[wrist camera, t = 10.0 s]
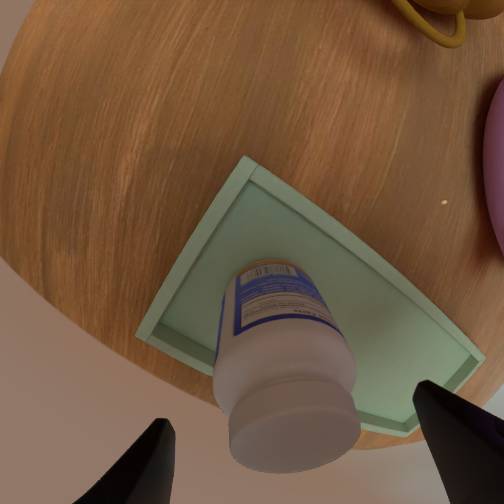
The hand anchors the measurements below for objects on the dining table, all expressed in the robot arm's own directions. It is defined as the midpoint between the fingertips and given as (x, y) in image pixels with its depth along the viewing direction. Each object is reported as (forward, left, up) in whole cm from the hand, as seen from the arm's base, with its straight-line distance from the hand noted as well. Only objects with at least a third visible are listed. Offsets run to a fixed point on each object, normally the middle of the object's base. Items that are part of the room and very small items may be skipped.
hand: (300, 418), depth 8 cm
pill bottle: (0, 0, -9) cm, 9 cm away
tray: (+8, 0, -9) cm, 12 cm away
